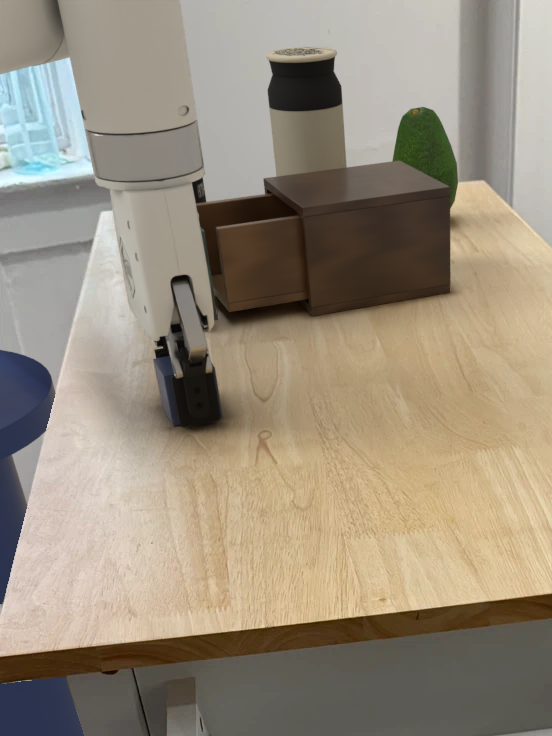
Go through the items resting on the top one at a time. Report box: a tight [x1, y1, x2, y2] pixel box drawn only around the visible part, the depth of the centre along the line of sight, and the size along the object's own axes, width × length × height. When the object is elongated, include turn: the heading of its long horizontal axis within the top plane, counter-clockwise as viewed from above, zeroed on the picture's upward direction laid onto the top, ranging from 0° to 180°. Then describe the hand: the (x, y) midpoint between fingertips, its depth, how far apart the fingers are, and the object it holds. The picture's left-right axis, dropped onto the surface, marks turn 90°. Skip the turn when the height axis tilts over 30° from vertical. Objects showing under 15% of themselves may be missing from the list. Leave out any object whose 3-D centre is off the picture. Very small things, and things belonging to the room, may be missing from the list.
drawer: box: [196, 193, 308, 322], centre depth 97 cm, size 18×11×8 cm, turn 112°
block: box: [152, 356, 223, 427], centre depth 80 cm, size 4×4×4 cm
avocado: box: [392, 106, 459, 210], centre depth 117 cm, size 8×8×12 cm
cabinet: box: [262, 160, 451, 317], centre depth 101 cm, size 15×13×10 cm
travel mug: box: [265, 46, 348, 177], centre depth 113 cm, size 8×8×18 cm
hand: (191, 406), depth 81 cm, fingers open, 5 cm apart
